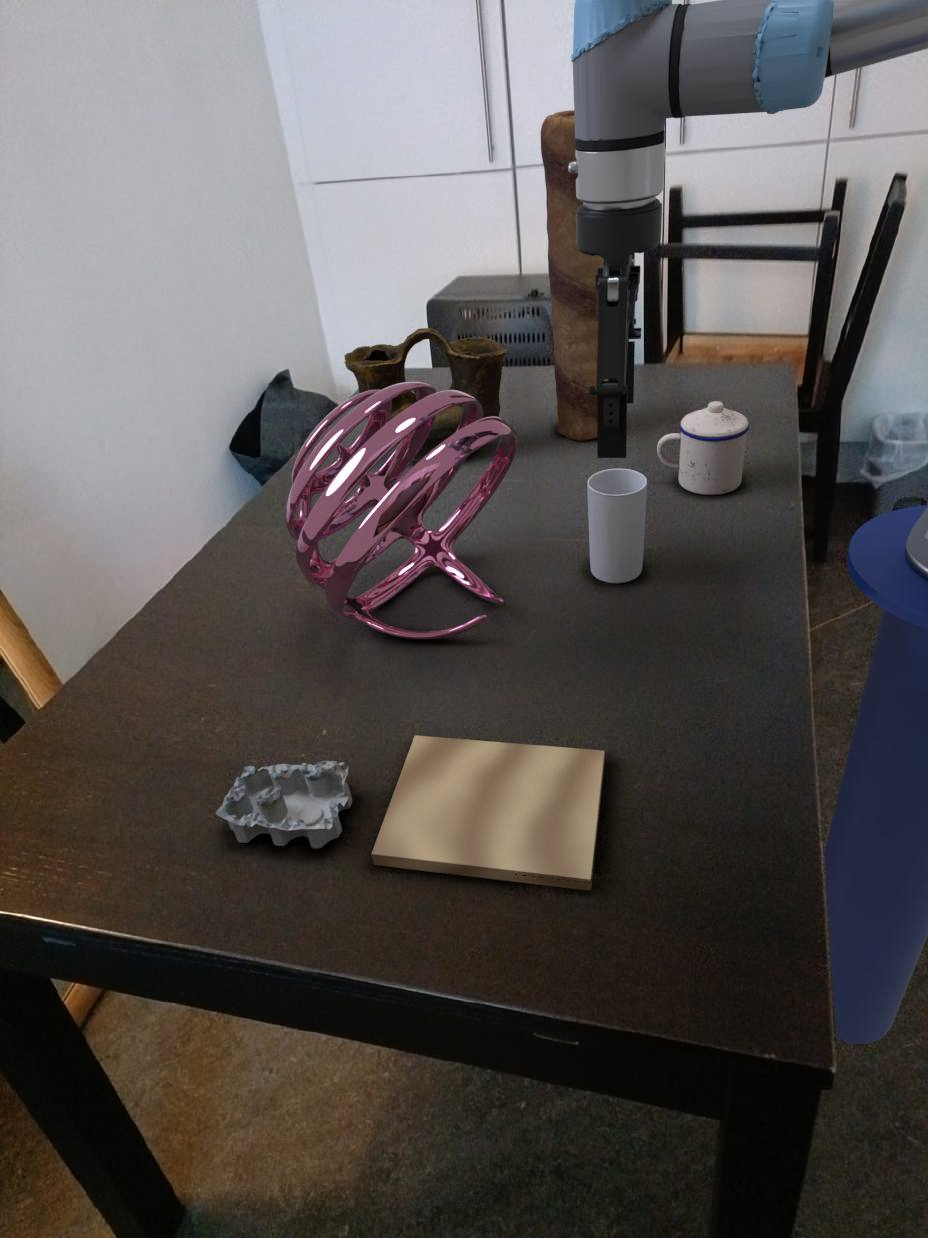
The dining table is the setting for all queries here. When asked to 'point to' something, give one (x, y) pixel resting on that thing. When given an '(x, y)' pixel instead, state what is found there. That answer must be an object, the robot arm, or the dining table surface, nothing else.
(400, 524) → the spiral basket
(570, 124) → the wafer roll
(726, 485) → the teacup with lid
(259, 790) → the egg carton
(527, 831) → the board
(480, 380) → the pottery vessel
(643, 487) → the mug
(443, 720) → the dining table surface
